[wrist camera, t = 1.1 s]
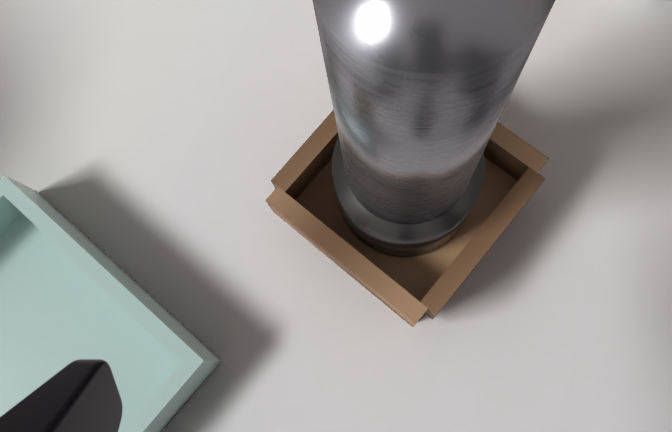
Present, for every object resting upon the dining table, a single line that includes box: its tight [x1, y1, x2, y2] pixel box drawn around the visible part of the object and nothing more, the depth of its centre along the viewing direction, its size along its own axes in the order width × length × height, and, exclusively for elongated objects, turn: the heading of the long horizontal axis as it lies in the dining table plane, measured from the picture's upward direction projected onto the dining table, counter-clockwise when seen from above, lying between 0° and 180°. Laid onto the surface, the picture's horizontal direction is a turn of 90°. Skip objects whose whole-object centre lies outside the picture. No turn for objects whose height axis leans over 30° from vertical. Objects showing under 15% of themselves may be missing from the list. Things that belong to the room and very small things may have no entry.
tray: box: [0, 175, 221, 432], centre depth 20 cm, size 10×10×2 cm
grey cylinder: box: [313, 0, 555, 257], centre depth 14 cm, size 4×4×12 cm
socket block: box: [265, 110, 549, 327], centre depth 20 cm, size 7×7×2 cm
